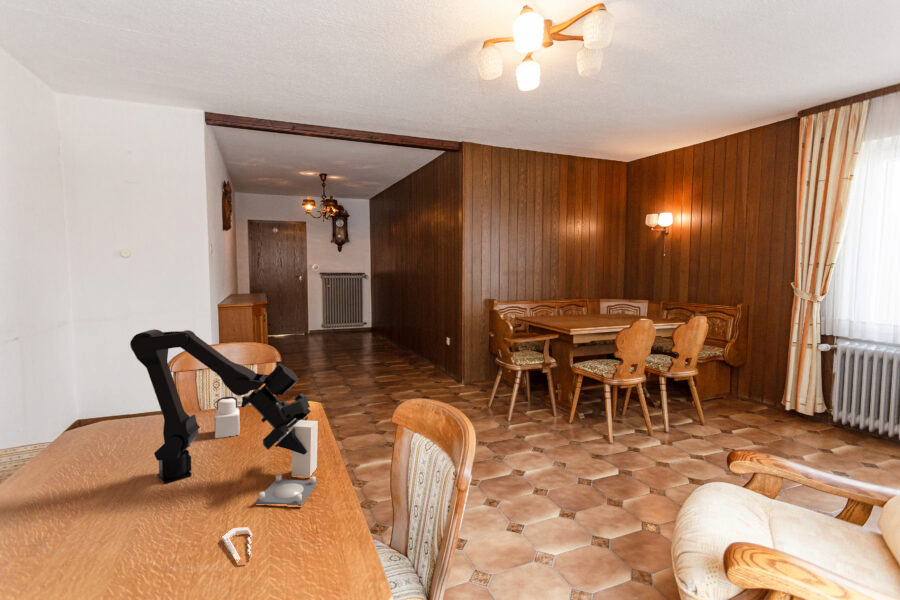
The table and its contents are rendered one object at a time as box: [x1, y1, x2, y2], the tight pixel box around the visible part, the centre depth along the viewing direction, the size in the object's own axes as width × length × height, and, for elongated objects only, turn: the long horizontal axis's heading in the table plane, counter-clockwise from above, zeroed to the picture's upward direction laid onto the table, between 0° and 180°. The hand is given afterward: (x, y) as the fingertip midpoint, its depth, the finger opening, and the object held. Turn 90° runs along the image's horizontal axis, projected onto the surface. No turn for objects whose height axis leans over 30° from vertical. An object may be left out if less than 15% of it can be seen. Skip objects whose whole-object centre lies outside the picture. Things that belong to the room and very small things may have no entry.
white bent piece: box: [221, 526, 254, 562], centre depth 89 cm, size 13×5×2 cm, turn 42°
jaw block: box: [291, 419, 319, 477], centre depth 120 cm, size 5×5×14 cm
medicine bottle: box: [214, 396, 240, 439], centre depth 147 cm, size 7×7×12 cm
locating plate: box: [255, 473, 319, 506], centre depth 110 cm, size 11×11×2 cm
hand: (309, 449), depth 120 cm, fingers closed on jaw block, 5 cm apart
